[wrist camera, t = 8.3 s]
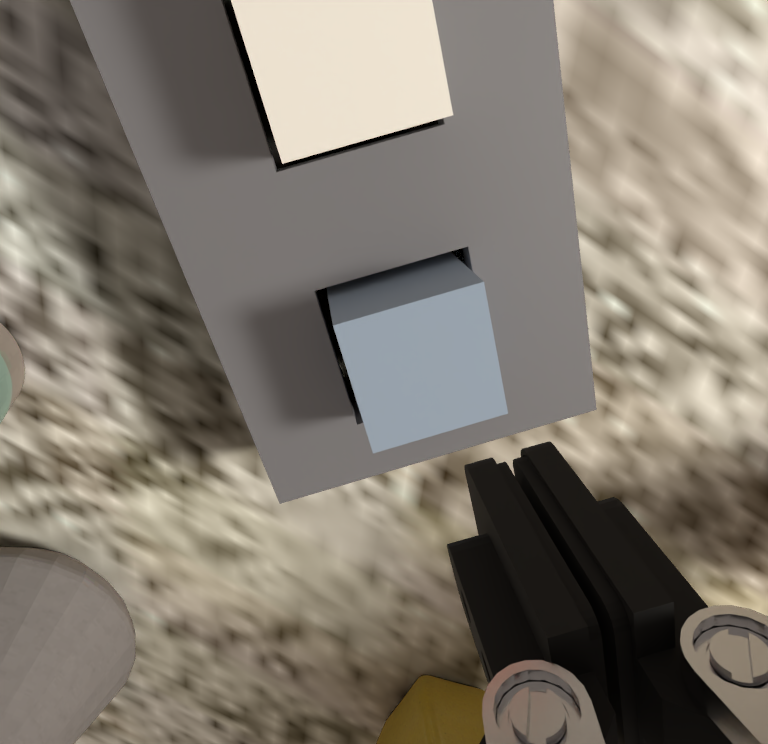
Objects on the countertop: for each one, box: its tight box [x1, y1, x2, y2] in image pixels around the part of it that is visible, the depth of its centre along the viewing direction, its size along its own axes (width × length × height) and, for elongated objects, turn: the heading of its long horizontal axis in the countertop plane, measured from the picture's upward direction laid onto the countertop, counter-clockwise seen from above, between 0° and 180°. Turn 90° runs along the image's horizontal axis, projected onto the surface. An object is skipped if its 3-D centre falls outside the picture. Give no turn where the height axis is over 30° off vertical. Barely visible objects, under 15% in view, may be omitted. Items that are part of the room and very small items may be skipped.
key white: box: [231, 0, 453, 164], centre depth 17 cm, size 5×5×5 cm
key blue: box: [326, 252, 508, 453], centre depth 22 cm, size 5×5×5 cm
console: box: [70, 0, 596, 504], centre depth 20 cm, size 14×31×5 cm, turn 15°
